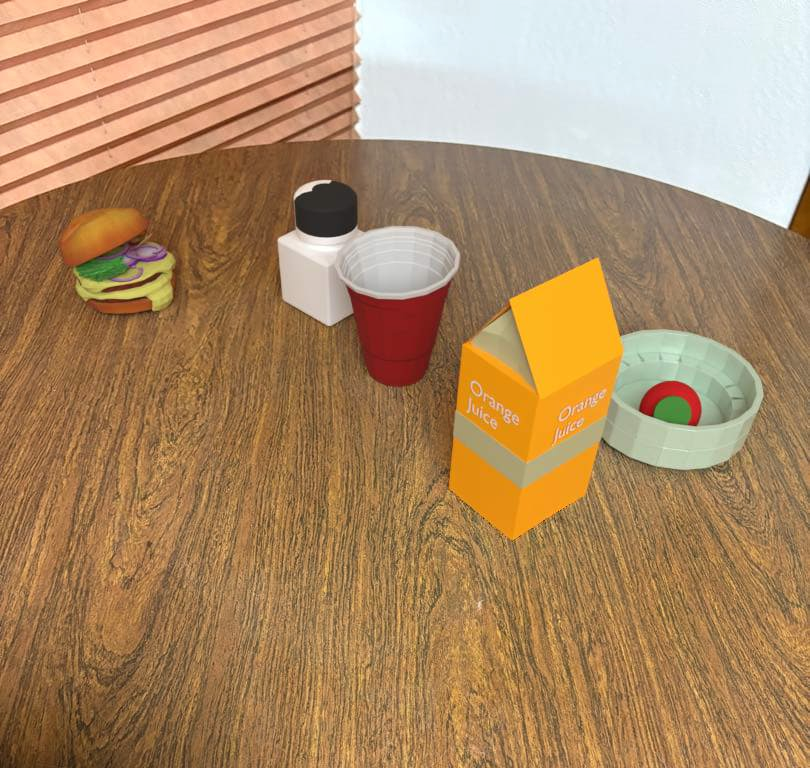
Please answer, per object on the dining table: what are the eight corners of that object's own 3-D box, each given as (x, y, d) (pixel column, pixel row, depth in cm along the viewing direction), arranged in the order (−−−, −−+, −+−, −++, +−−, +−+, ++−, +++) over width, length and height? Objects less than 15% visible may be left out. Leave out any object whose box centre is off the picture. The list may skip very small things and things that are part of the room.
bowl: (645, 354, 85) (658, 311, 81) (773, 424, 78) (793, 380, 75) (554, 417, 78) (563, 372, 74) (686, 499, 72) (704, 454, 68)
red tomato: (667, 366, 76) (671, 369, 71) (711, 405, 76) (719, 411, 70) (625, 411, 77) (626, 417, 72) (668, 449, 77) (673, 458, 72)
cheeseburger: (136, 335, 84) (93, 237, 78) (67, 323, 90) (21, 231, 83) (203, 287, 90) (168, 192, 84) (135, 279, 96) (97, 189, 89)
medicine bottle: (377, 300, 90) (378, 189, 81) (329, 328, 86) (324, 215, 77) (329, 275, 93) (325, 165, 84) (281, 301, 89) (271, 189, 80)
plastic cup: (320, 352, 84) (313, 238, 75) (418, 325, 87) (423, 213, 78) (368, 418, 77) (367, 301, 68) (471, 386, 81) (484, 271, 72)
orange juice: (446, 489, 71) (466, 274, 57) (521, 445, 75) (558, 233, 60) (513, 544, 68) (553, 328, 53) (588, 495, 71) (645, 281, 57)
